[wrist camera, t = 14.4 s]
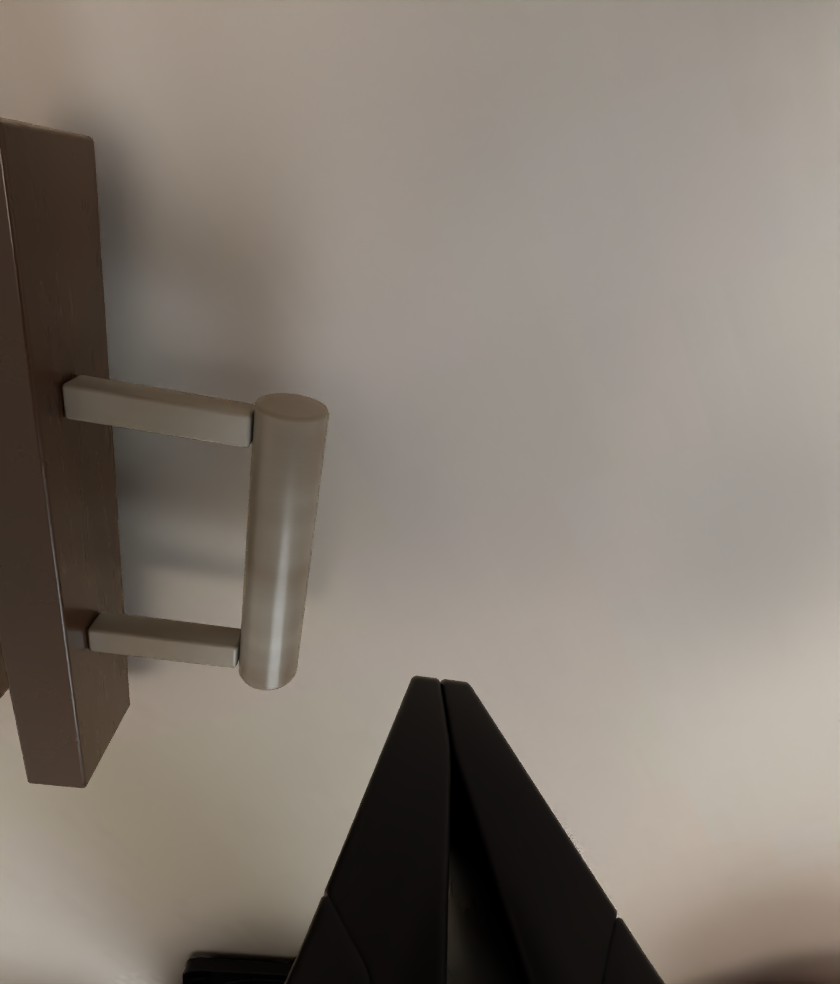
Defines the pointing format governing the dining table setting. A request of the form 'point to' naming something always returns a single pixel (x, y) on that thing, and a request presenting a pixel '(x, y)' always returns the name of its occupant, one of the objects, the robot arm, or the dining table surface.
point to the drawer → (112, 480)
